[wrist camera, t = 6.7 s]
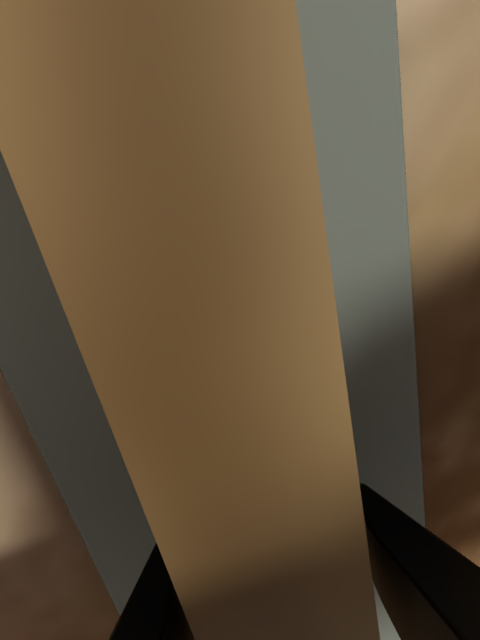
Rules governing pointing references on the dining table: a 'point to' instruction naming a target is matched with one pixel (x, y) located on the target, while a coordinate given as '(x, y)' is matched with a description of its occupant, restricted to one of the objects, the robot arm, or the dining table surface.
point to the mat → (349, 288)
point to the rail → (199, 292)
